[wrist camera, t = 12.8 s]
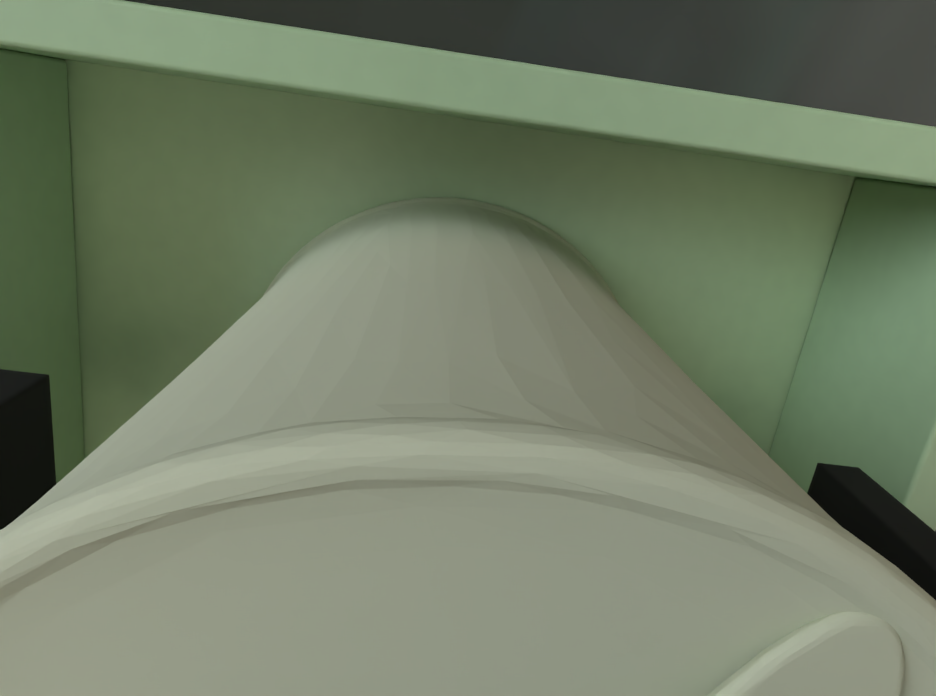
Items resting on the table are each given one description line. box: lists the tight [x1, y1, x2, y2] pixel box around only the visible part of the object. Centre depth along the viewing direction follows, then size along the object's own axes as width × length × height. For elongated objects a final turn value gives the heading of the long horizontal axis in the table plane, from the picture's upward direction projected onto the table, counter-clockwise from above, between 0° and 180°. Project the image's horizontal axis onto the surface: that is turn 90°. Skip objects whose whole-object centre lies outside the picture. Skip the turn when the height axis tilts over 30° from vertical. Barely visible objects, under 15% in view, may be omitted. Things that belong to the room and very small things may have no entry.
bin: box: [0, 0, 936, 531], centre depth 14 cm, size 14×18×5 cm
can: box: [0, 197, 936, 696], centre depth 10 cm, size 9×9×12 cm
